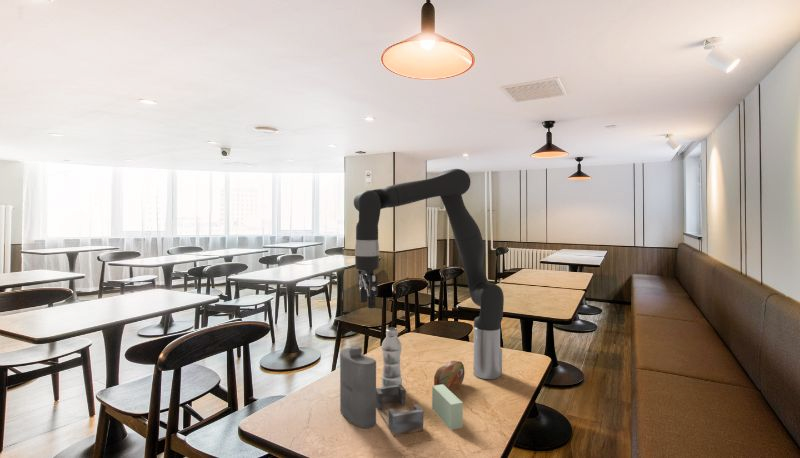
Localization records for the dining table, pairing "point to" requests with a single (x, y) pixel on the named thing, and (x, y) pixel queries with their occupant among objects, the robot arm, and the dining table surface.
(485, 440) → the dining table surface
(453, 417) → the slat
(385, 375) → the plastic bottle
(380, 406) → the cradle
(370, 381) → the flask
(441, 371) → the tin
